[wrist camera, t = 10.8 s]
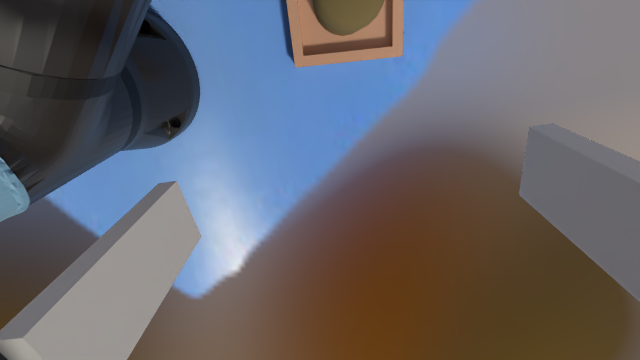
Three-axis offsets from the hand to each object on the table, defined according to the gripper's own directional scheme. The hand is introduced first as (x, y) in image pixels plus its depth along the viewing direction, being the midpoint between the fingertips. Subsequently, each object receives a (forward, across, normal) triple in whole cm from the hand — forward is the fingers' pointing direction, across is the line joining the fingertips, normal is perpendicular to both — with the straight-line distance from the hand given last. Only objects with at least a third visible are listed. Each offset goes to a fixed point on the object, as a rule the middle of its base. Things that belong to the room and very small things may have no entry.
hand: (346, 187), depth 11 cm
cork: (+24, +2, +7) cm, 25 cm away
